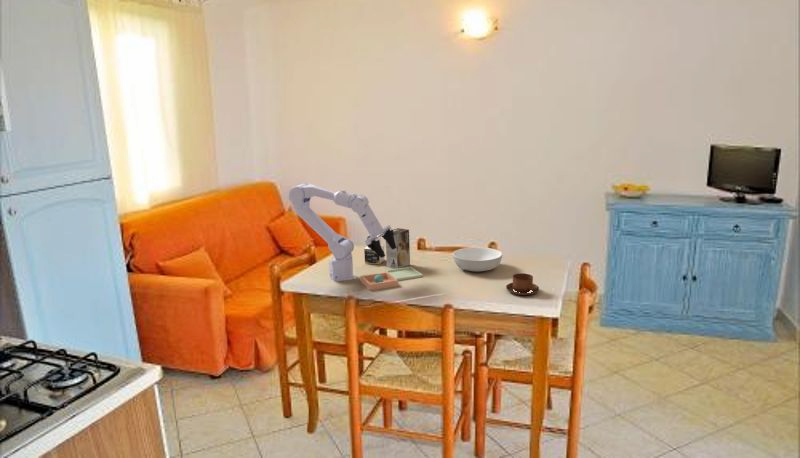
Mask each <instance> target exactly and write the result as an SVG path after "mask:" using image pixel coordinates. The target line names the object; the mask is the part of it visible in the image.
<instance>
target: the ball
mask: <svg viewBox="0 0 800 458" xmlns="http://www.w3.org/2000/svg"><path fill="white" fill-rule="evenodd" d="M374 281H375V282H376V283H379V282H383V277H382V276H381V275H376V276H375V278H374Z"/></svg>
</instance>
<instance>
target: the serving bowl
mask: <svg viewBox="0 0 800 458" xmlns="http://www.w3.org/2000/svg"><path fill="white" fill-rule="evenodd" d="M502 258H503V253H502V251H500V250H498V249H495V248H489V247H483V246H482V247H481V246H480V247H479V246H478V247H477V246H475V247H472V246H471V247H464V248H460V249H456V250H454V251H452V259H453V261H454V263H455V265H456V266H458V267H459V268H460V269H463V270H464V271H470V272H475V273H479V272H480V273H481V272H486V271H491V270H493V269H495V268H497V267H498V266H499V264H500V263H501V261H502Z"/></svg>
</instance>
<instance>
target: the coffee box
mask: <svg viewBox="0 0 800 458" xmlns="http://www.w3.org/2000/svg"><path fill="white" fill-rule="evenodd" d="M392 230H393V231H394V241H395V244H396V247H397V248H395V249H393V250H392V248H391V247H390V246H389V244H388V243H387V241H386V240H385V253H386V254H385V257H386V258H385V259H386V267H387V268H390V269H391V268H392V269H398V268H405V267H407V266H409V265H411V251H410V250H411V248H410V246H411V245H410V229H406V228H399V227H398V228H394V229H392Z"/></svg>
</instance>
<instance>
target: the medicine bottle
mask: <svg viewBox="0 0 800 458" xmlns="http://www.w3.org/2000/svg"><path fill="white" fill-rule="evenodd" d="M378 236H379V235H378ZM378 236H377V237H378ZM370 237H371V236H370V235H369V236H367V238H366V240H367V239H368V238H370ZM377 237H376V238H377ZM381 238H382V236H380V237H379V238H378V239H376V240H375V241H377V240H379V242H380V245H381V248H382V250H383V251H384V252H385V245H384V244H382V239H381ZM385 257H386V255H385V256H384V257H382V258H381V257H380V256H379V255H378V254H377V253H376V252H375V251H373V250H372V249H370V248H368V246H367V245H366V246H365V247H364V263H365V264H369V265H370V264H371V265H381V264H382V263H383V262H384V261H385V259H386V258H385Z"/></svg>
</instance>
